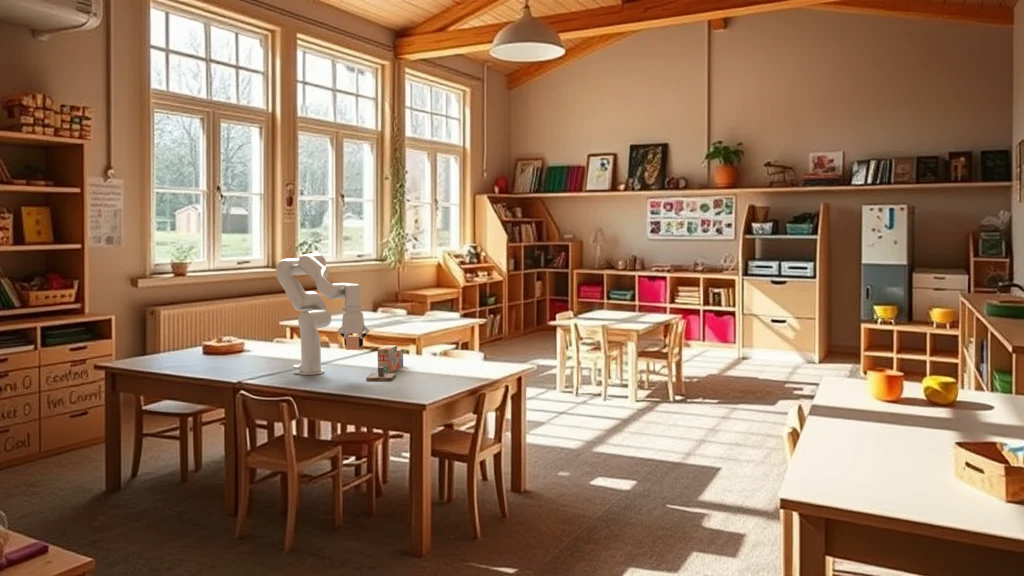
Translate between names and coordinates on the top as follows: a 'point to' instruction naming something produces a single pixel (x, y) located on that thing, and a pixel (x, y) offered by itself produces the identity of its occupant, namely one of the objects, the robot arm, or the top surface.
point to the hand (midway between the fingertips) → (353, 346)
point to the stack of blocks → (390, 358)
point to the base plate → (381, 376)
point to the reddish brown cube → (352, 343)
